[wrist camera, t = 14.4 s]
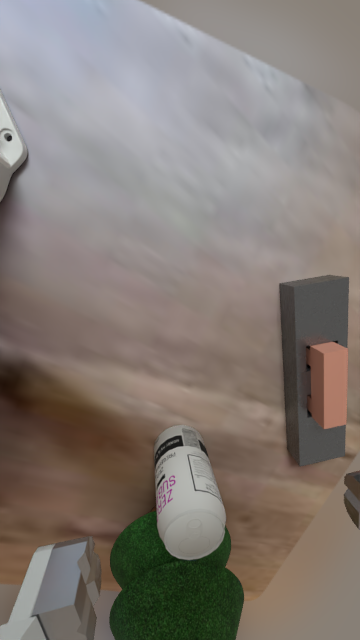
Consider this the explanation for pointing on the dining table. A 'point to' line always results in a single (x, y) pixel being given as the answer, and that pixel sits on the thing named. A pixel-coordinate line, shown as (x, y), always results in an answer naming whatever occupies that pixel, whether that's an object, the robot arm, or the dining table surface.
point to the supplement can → (187, 495)
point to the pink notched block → (328, 383)
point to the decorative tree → (171, 589)
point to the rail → (298, 332)
